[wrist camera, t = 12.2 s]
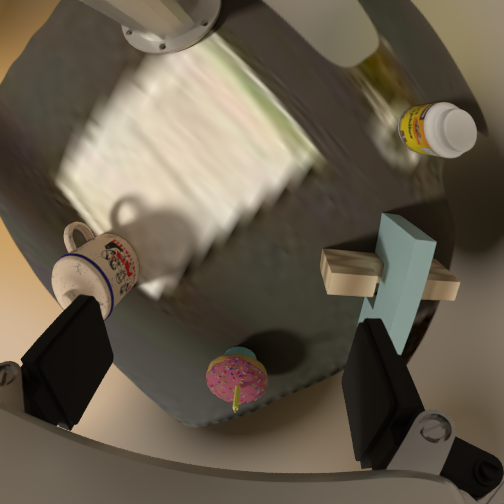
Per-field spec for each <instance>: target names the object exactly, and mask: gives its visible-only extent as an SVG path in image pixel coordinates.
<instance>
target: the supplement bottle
mask: <svg viewBox="0 0 504 504" xmlns="http://www.w3.org/2000/svg"><path fill="white" fill-rule="evenodd" d="M398 130H399V135H400V138H401V140H402V142H403V143H404V144H405V145H406V146H407V147H408V148H409V149H410V150H412V151H414V152H417V153H423V154H429V155H434V156H440V157H445V158H455V157H458V156H460V155H461V154H463V153H464V152H465V151H468V150H470V149H471V148H472V147H473V146H474V144H475V142H476V138H477V129H476V125H475V122H474V120H473V119H472V117H471V116H470V115H469V114H468V113H467V112H466V111H464V110H461V109H459V108H458V107H457V106H455V105H453V104H451V103H447V102H440V103H434V104H428V105H422V106H417V107H412V108H409V109H407V110H406V111H405V112H404V113H403V114H402V115H401V117H400V119H399V124H398Z"/></svg>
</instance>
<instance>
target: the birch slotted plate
mask: <svg viewBox="0 0 504 504" xmlns="http://www.w3.org/2000/svg"><path fill="white" fill-rule="evenodd" d="M383 268H384V263H383V262H382V260H381V259H380V258H379V256H378V255H377V254H376V253H367V252H356V251H345V250H334V249H322V256H321V262H320V269H321V273H322V276H323V280H324V283H325V287H326V290H327V294H333V295H348V296H364V297H373V295H374V291H375V287H376V283H380V281H381V277H382V273H383ZM459 285H460V281H459V280H458V279H456V277H454V275H453V274H451V273H450V272H449V271H448V270H447V269H446V268H445V267H444V266H443V265H442V264H441V263H439V262H438V261H437V260H436V259H432V262H431V266H430V270H429V273H428V277H427V281H426V284H425V287H424V291H423V294H422V297H421V299H424V300H452V301H454V300H455V297H456V294H457V291H458V288H459Z"/></svg>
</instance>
